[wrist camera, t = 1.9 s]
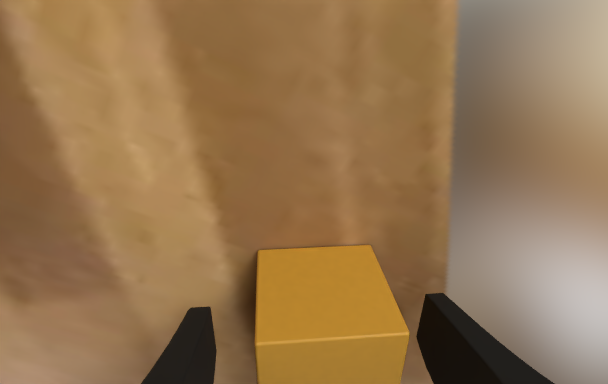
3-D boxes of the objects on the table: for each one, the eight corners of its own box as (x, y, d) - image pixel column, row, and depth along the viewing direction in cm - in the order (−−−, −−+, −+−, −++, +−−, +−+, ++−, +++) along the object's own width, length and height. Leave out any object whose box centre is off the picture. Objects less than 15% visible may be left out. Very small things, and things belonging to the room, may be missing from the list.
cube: (361, 325, 15) (392, 427, 11) (262, 332, 14) (260, 439, 11) (370, 243, 13) (411, 333, 9) (257, 249, 12) (254, 344, 9)
